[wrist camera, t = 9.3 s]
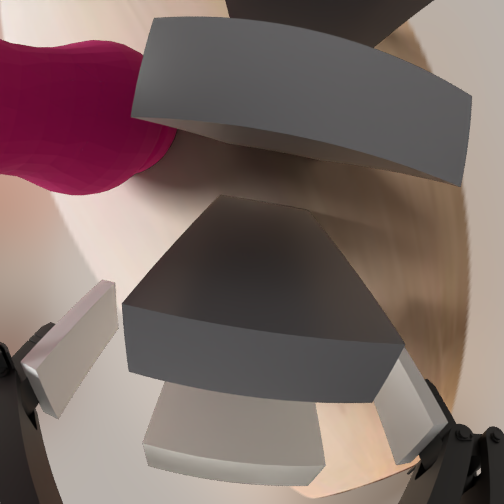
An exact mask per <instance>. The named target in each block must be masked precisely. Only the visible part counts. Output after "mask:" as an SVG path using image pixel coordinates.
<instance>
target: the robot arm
mask: <svg viewBox="0 0 504 504" xmlns="http://www.w3.org/2000/svg"><path fill="white" fill-rule="evenodd" d="M118 329H119V328H118V317H117V305H116V289H115V283H114V282H110V281H106V280H101V281H100V282H99V283H98V284H97V285H96V286H95V287H94V288H93V289H92V290H90V291H89V292H88V293H87V294H86V295H85V296H84V297H83V298H82V299H81V300H80V301H79V302H78V303H77V304H76V305H75V306H74V307H72V309H70V310H69V311H68V312H67V314H65V315H64V316H63V317H62V318H61V319H60V320H59V321H58V323H56V324H54V323H51V322H50V323H48V324H46V325H44V326H43V327H41V328H40V329H39V330H38V331H37V332H36V333H35V335H33V336H32V337H31V338H30V339H29V341H27V342H26V343H25V344H24V345H23V346H22V347H21V348H20V349H19V350H18V351H17V352H16V353H15V355H14V356H13V357H12V358H11V355H10V353H9V350H8V347H7V346H6V345H5V344H4V343H1V342H0V504H63V502H62V499H61V497H60V494H59V491H58V489H57V486H56V483H55V480H54V477H53V474H52V471H51V468H50V465H49V461H48V458H47V454H46V451H45V446H44V443H43V439H42V434H41V430H40V425H39V420H38V414H37V411H36V409H35V408H36V406H37V405H38V403H39V404H40V406H41V408H42V410H43V412H45V413H47V414H49V415H51V416H53V417H55V418H57V419H59V417H60V416H61V414H62V413H63V411H64V409H65V408H66V406H67V405H68V403H69V401H70V399H71V398H72V397H73V395H74V393H75V392H76V390H77V389H78V387H79V386H80V384H81V383H82V381H83V379H84V378H85V376H86V375H87V373H88V372H89V370H90V369H91V367H92V366H93V364H94V363H95V361H96V360H97V359H98V357H99V356H100V354H101V353H102V351H103V350H104V348H105V347H106V345H107V344H108V343H109V341H110V340H111V338H112V337H113V336H114V334H115V333H116V331H117V330H118ZM374 403H375V406H376V409H377V411H378V414H379V417H380V420H381V422H382V425H383V428H384V431H385V434H386V436H387V439H388V442H389V445H390V448H391V451H392V454H393V457H394V460H395V463H396V465H400V464H405V463H410V462H411V461H413V460H414V459H415V458H416V457H417V456H418V455H419V457H420V459H421V460H420V461H419V462H418V463H417V464H416V465H415V466H414V467H412V468H411V469H410V470H409V471H408V473H407V474H410V473H411V472H412V471H414V472H413V474H412V476H411V479H410V481H409V483H408V485H407V487H406V489H405V491H404V494H403V496H402V497H401V500H400V501H399V503H398V504H504V434H503V432H502V431H501V430H500V429H499V428H497V427H489V428H488V429H487V430H486V431H485V432H484V433H483V434H473V433H472V431H471V430H470V429H469V428H468V427H467V426H465V425H462V424H456V422H455V421H454V419H453V417H452V415H451V413H450V411H449V410H448V408H447V406H446V404H445V403H444V402H443V399H442V397H441V396H439V392H438V391H437V389H436V387H435V386H434V385H433V384H432V383H431V382H430V381H429V380H428V379H424V378H423V376H422V375H421V373H420V371H419V370H418V368H417V366H416V365H415V363H414V361H413V360H412V358H411V357H410V355H409V353H408V352H407V350H406V348H405V347H404V348H403V350H402V352H401V354H400V356H399V358H398V360H397V362H396V363H395V365H394V367H393V369H392V371H391V372H390V374H389V376H388V378H387V379H386V381H385V383H384V384H383V386H382V388H381V389H380V391H379V393H378V394H377V396H376V397H375V399H374ZM480 468H481V473H480V474H479V475H478V476H477V474H476V471H477V470H479V469H480Z"/></svg>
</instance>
